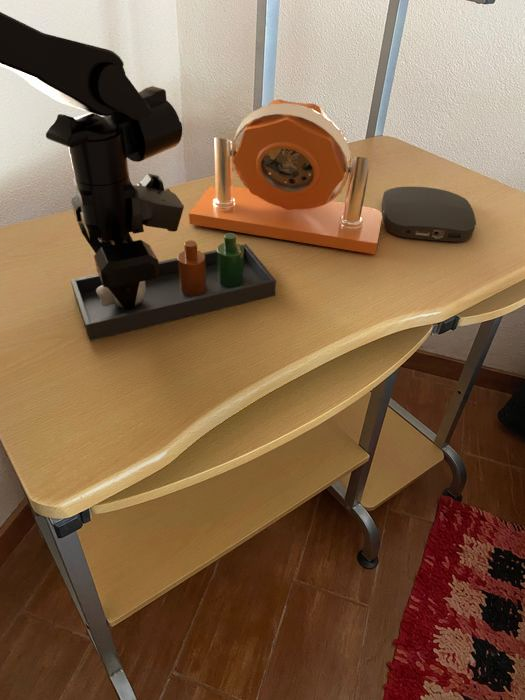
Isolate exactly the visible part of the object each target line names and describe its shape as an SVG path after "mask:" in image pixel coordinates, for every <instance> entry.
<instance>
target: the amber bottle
mask: <svg viewBox="0 0 525 700" xmlns="http://www.w3.org/2000/svg"><path fill="white" fill-rule="evenodd" d="M183 245H184V251H181V252H180V253H178V255H177V258H178V270H179V282H180V290H181V292H182V293H183V294H185V295H189V296H197V295H200V294H202V293H204V292H205V291H206V265H205V255H204V254H203V253H204V252H202V251H200V250H198V243H197V241H195V240H186V241H185V242H184V243H183Z"/></svg>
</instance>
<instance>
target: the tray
mask: <svg viewBox="0 0 525 700" xmlns="http://www.w3.org/2000/svg"><path fill="white" fill-rule="evenodd" d="M240 245H241V246H242V247H243V248H244V264H243V282H242V283H241V284H240V285H238V286H236V287H226V286H223V285H221V284H220V283H219V282H218V274H217V249H214V250H210V251H205V252H202V253H203V254H204V255H205V265H206V291H205V292H204V293H202V294H200V295H197V296H189V295H185V294H183V293H182V292H181V290H180V282H179V270H178V257H177V258H175V257H174V258H170V259H166V260H161V261H158V262H159V271H160V275H159V276H158V277H157V278H156V279H151V280H146V281H145V285H146V291H145V295H144V298H143V300H142V301H141V302H140V303H139V304H137V305H135V307H134V308H133V309H130V310H125V309H124V307H120V306H117V305H115V304H112V305H110V306H103V305H102V304H101V299H100V297H99V296H98V294H97V292H96V289H97V288H98V287H100V286H102V285H103V284H102V282H101V279H100V277H99V274H98V273H96V274H92V275H87V276H82V277H78V278H77V277H76V278H72V279H70V284H71V287H72V292H73V296H74V298H75V301H76V304H77V308H78V311H79V314H80V317H81V320H82V322H83V323H82V324H83V326H84V329H85V332H86V335H87V338H88V341H89V342H91V341H95V340H98V339H103V338H107V337H111V336H116V335H119V334H124V333H127V332H131V331H135V330H140V329H143V328H147V327H152V326H156V325H160V324H164V323H168V322H172V321H177V320H180V319H184V318H189V317H192V316H193V317H194V316H196V315H201V314H205V313H210V312H214V311H217V310H221V309H225V308H230V307H234V306H237V305H241V304H247V303H250V302H254V301H259V300H261V299H262V300H263V299H267V298H270V297H274V296H276V291H277V280H276V278H275V277H274V276H273V275H272V273H271V272H270V271H269V270H268V268H266V266H265V265H264V264H263V262H261V260H260V259H259V257H258V256H257V255H256V254H255V253H254V251H253V250H252V249H251V247H249V245H248V244H247V243H244V244H240Z"/></svg>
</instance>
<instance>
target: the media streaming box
mask: <svg viewBox="0 0 525 700" xmlns="http://www.w3.org/2000/svg"><path fill="white" fill-rule="evenodd" d="M381 213H382V221H383V225H384V228H385V229H386V230H387V231H388V232H389V233H391V234H393V235H395V236H397V237H402V238H408V239H418V240H427V241H440V242H441V241H442V242H457V243H460V242H466V241H468V240H470V239H471V238H472V237H473V234H474V231H475V228H476V225H477V219H476V216H475V212H474V209H473V207H472V205H471V203H470V202H469V201H468V200H467V198H465V197H463V196H461V195H459V194H457V193H454V192H452V191H448V190H444V189H441V188H435V187H427V186H396V187H392V188H389V189H386V190H385V191H384V192H383V195H382V200H381Z"/></svg>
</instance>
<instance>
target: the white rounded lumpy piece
mask: <svg viewBox="0 0 525 700" xmlns="http://www.w3.org/2000/svg"><path fill="white" fill-rule="evenodd" d="M145 291H146V285H145V281H142V282H140V283H139V287H138V292H137V297H136V302H135V305H137V304H139V303H140V302H141V301H142V300H143V298H144V295H145ZM96 292H97V294H98V296H99V297H100V299H101V304H102V305H103V306H110V305H112V304H115V305H117V306H120V307H123V306H122V305H121V304H120V302H119V301H118V300H117V298H116V297H115V296H114V295H113V294H112V292H111V291H110V290H109V289H108V288H107V287H103V285H102V286H100V287H98V288H97V289H96Z"/></svg>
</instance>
